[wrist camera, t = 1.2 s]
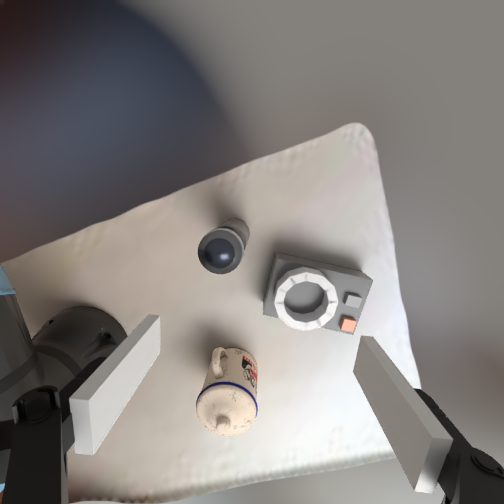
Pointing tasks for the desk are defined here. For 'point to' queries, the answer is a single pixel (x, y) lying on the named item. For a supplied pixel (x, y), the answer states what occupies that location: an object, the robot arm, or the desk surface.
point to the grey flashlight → (224, 246)
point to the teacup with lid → (229, 392)
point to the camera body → (315, 294)
